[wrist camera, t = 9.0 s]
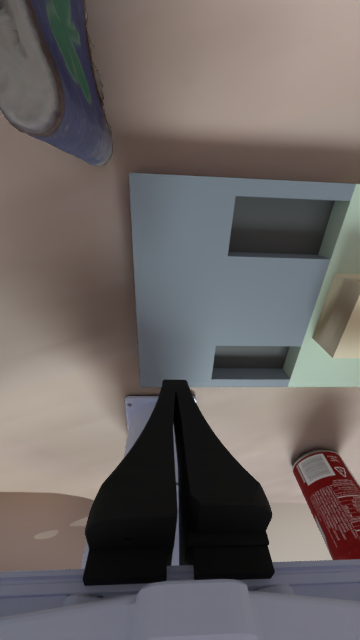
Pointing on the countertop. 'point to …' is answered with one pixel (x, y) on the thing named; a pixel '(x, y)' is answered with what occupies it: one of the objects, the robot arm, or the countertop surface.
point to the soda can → (331, 500)
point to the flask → (52, 77)
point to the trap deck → (239, 278)
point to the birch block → (341, 318)
